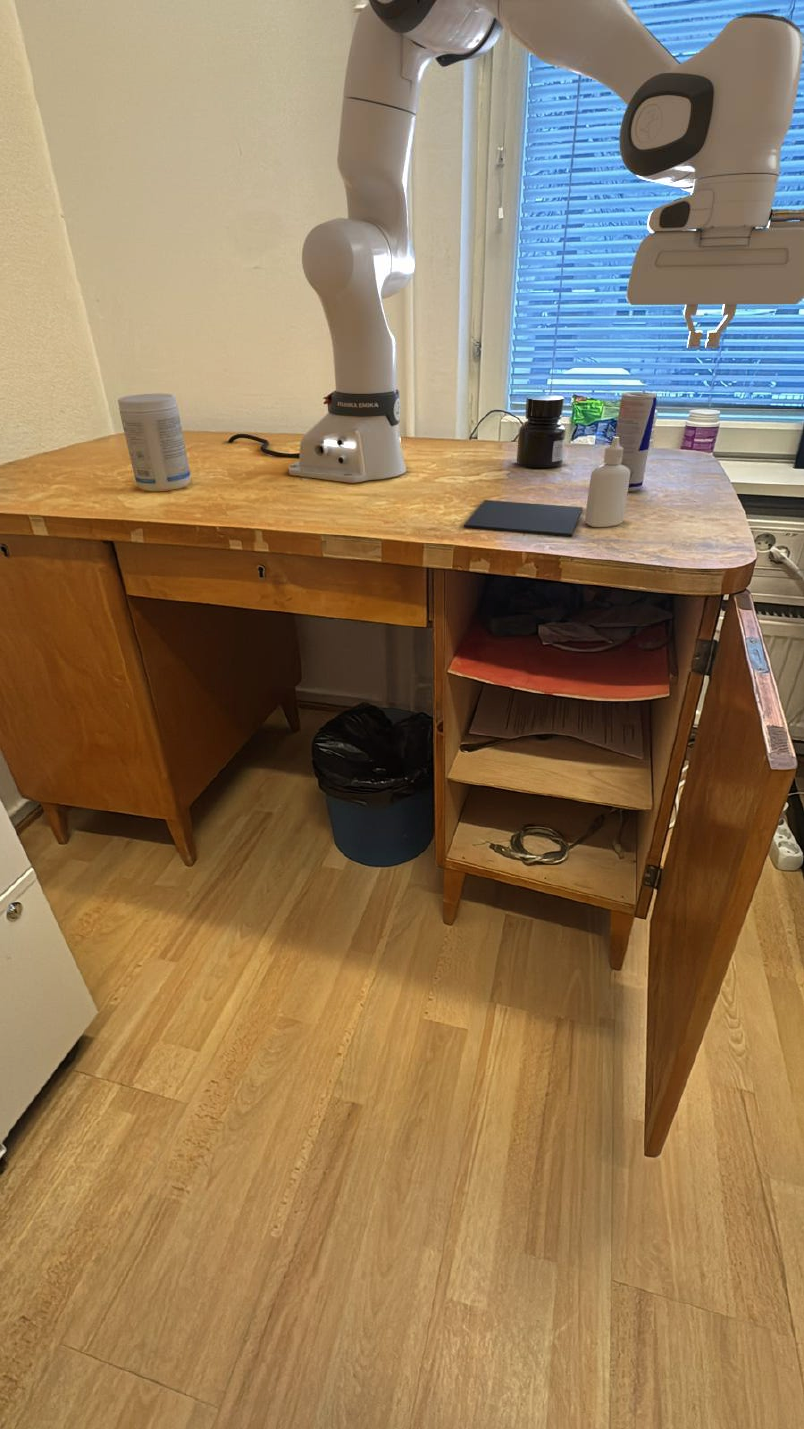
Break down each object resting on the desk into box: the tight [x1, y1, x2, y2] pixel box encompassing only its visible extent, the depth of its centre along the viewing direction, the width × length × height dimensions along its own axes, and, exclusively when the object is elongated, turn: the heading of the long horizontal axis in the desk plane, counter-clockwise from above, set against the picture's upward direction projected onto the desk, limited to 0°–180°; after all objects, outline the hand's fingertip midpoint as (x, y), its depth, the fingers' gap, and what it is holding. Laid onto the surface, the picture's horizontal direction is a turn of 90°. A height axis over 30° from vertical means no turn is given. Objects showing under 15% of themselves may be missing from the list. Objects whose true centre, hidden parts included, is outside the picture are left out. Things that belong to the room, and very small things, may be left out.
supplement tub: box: [117, 393, 192, 492], centre depth 119 cm, size 10×10×15 cm
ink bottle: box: [516, 394, 566, 469], centre depth 131 cm, size 10×9×12 cm
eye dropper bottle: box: [584, 436, 630, 528], centre depth 98 cm, size 4×6×12 cm
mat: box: [463, 499, 583, 538], centre depth 103 cm, size 16×14×1 cm
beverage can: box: [614, 391, 658, 493], centre depth 114 cm, size 6×6×15 cm
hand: (702, 347), depth 86 cm, fingers closed
